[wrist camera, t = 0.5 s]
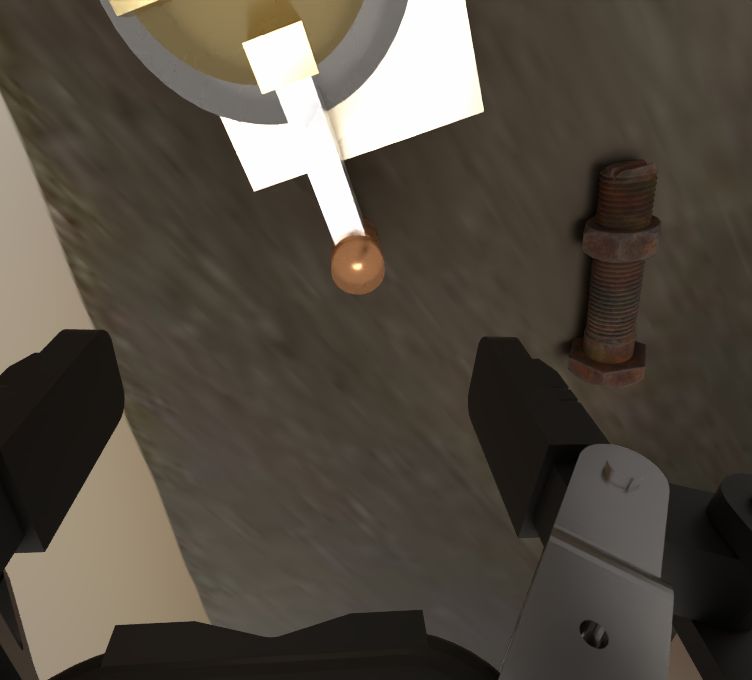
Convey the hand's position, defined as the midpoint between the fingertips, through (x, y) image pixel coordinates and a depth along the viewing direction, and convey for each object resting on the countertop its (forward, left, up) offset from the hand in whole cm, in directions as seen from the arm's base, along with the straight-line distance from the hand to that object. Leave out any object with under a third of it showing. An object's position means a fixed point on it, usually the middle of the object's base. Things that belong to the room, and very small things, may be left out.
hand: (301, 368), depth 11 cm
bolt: (-17, +13, -22) cm, 31 cm away
